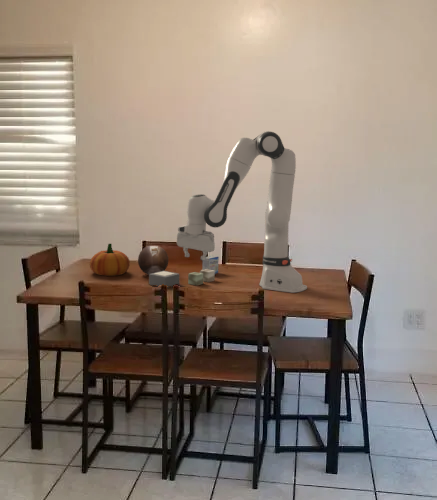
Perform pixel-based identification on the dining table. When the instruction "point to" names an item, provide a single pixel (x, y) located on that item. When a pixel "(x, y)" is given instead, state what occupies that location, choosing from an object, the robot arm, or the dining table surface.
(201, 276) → the sage block
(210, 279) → the off-white block
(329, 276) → the dining table surface
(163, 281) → the base block
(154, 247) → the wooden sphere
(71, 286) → the dining table surface
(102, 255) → the pumpkin
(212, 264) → the medicine box
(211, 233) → the robot arm
